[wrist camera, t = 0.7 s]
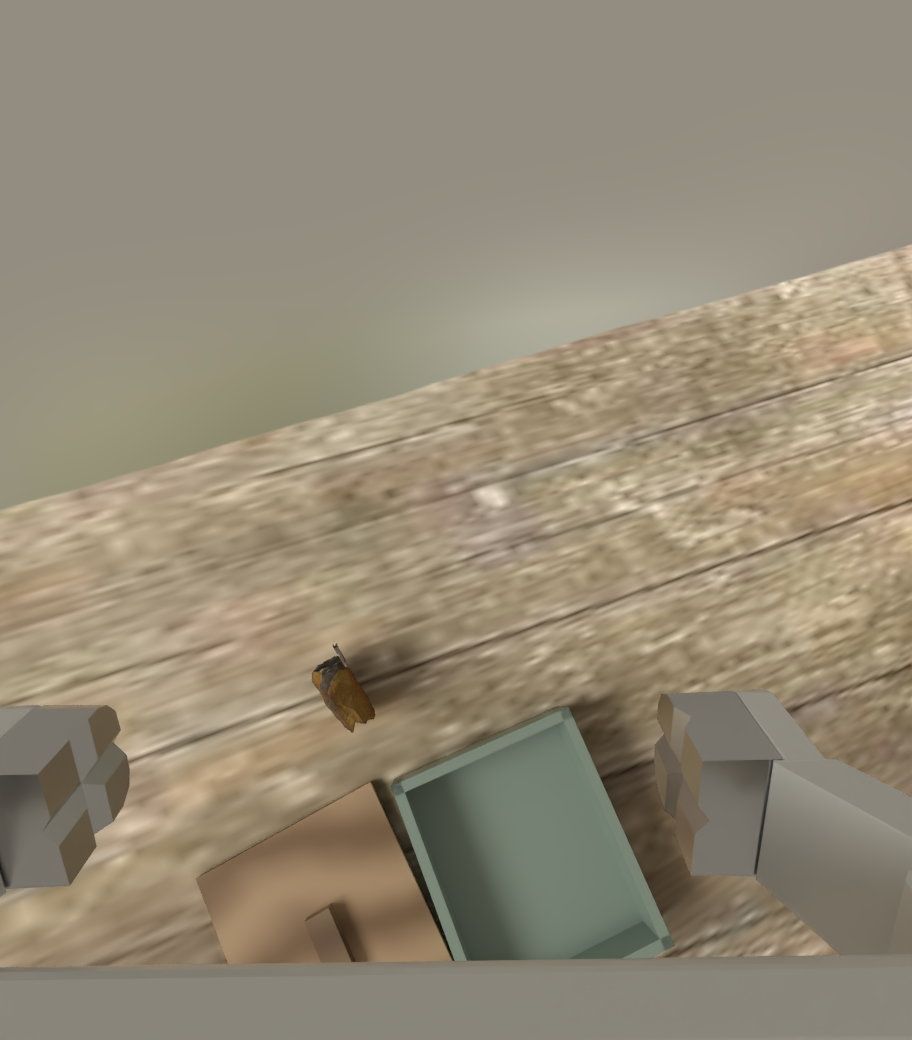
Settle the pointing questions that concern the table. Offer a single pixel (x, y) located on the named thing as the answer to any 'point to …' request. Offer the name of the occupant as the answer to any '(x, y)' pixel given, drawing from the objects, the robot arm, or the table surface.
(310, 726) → the table surface
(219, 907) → the lid
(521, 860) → the bin
